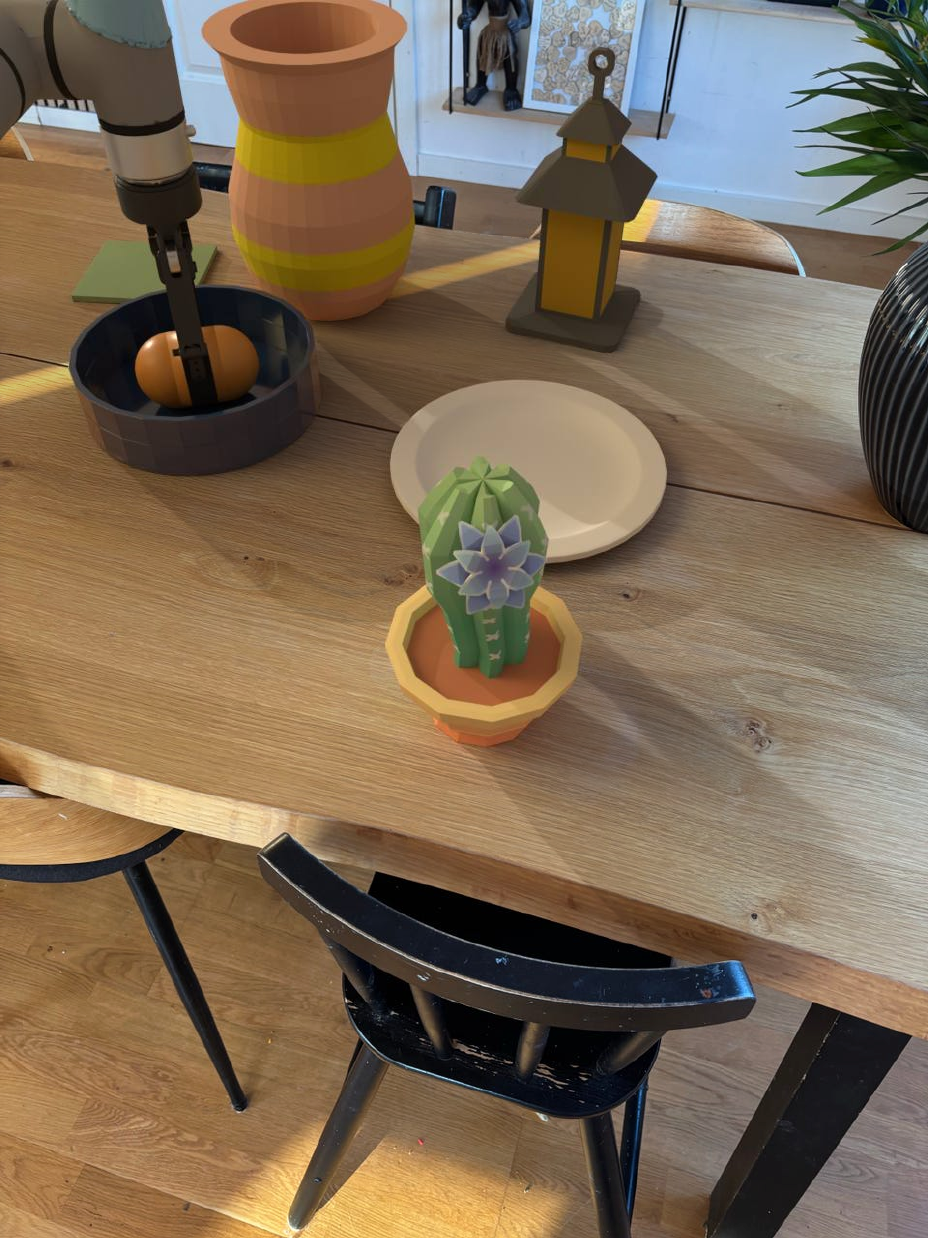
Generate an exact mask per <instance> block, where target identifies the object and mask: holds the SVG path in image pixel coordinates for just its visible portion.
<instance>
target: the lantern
mask: <svg viewBox="0 0 928 1238" xmlns="http://www.w3.org/2000/svg"><path fill="white" fill-rule="evenodd" d="M598 56H603V58H604V57H605V59H606V62H607V66H606V67H600V66H599V65H598V63H597V60H596V59H597V57H598ZM616 56H617V55H616V53H615V52H614V51H613V50H612V49H611V48H610V47H607V46H606V47H605V46H598V47H595V48H594V49H593V50H592V51H591V52H590V53H589V54H588V59H587V60H588V61H587V71H588V73H589V74H590V75H591V76H593V85H592V94H591V96H589V97H588V98H587V99H586V100H585V101H583V102H582V103H581V104H580V105H579V106H578V107H577V108H576V109H574V110H573V111H572V112H571V113H570V114H569V115H568V116H567V118H566V119H565V121H564V122H563V123H562V125H561V126H560V128H559V129H558V130H557V131H556V133H555V136H556V137H558V138H562V145H561V146H559V147H557V148H556V149H554V150H553V151H552V152H550V153H549V154H546V156H544V157H543V159H542V160H541V162H540V163H539V165H538V166H537V167H536V168H535V170H533V172H532V174H531V175H530V177H529V178H528V179H527V180H526V182H525V183H524V185H523V186H522V187H521V188H520V190H519V191H518V193H517V194H516V195H515V197H514V198H515V201H516V203H519V204H520V205H524V206H528V207H535V208H539V209H540V208H541V209H542V211H541V224H540V236H539V250H538V261H537V271H536V272H534V273H533V275H532V277H531V278H530V280H529V281H528V283H527V284H526V286H525V288H524V289H523V290H522V292H521V294H520V295H519V297H518V299H517V300H516V302H515V303H514V305H513V307H512V308H511V310H510V311H509V313H508V314H507V316H506V318H505V328H506V331H508V332H510V333H512V334H517V335H521V336H524V337H525V336H526V337H530V338H535V339H540V340H543V341H549V342H553V343H556V344H562V345H566V346H570V347H571V346H572V347H576V348H580V349H584V350H588V351H589V350H590V351H593V352H599V353H605V354H606V353H607V354H609V353H613V352H615V351H617V350H618V348H619V346H620V344H621V343H622V340H623V339H624V335H625V333H626V331H627V329H628V327H629V325H630V323H631V321H632V319H633V317H634V316H635V315H634V314H635V313H636V311H637V308H638V306H639V305H640V303H641V297H642V294H641V292H640V290H639V289H637V288H635V287H631V286H628V285H627V286H626V285H623V284H617V278H618V271H619V264H620V257H621V250H622V244H623V236H624V228H625V223H626V224H628V223H631V222H633V221H635V220H636V218H637V216H638V214H639V212H640V211H641V209H642V207H643V206H644V204H645V202H646V200H647V198H648V195H649V194H650V192H651V191H652V188H653V187H654V185H655V183H656V181H657V179H658V178H659V176H658V174H657V172H656V171H654V170H653V169H652V168H651V167H650V166H649V165H648V164H647V163H645V162H644V161H642V160H641V159H640V158H639V156H637V155H636V154H634V153H633V152H632V151H631V150H630V149H628V147H626V146H625V145H624V144H623V139H624V137H625V135H626V134H627V133H628V131H629V129H630V128H631V126H632V125H633V123H632V121H631V120H630V119H629V118H628V117H627V116H626V115H625V114H624V113H623V112H622V111H621V110H620V109H619V108H618V107H617V106H616V104H615V103H613V101H611V99H609V98H606V97H604V93H605V85H606V78H607V77H610V76H611V74H612V73H613V71H614V69H615V65H616Z"/></svg>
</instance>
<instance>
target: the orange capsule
mask: <svg viewBox="0 0 928 1238" xmlns="http://www.w3.org/2000/svg"><path fill="white" fill-rule="evenodd" d="M201 328H202V332H203V337H204V342H205V343H206V344H207V348H208V353H209V358H210V362H211V367H212V372H213V376H214V381H215V386H216V390H217V395H218V400H219V403H220V402H226V401H231V400H235V399H238V398H240V397H242V396H243V395H245V394H246V393H247V392H248V391H249V390H250V389H251V388H252V387H253V385H254V383H255V381H256V379H257V376H258V373H259V359H258V355H257V351H256V349H255V347H254V345H253V344H252V342H251V341H250V340H249V339H248V338H247V337H246V336H245V335H244V334H243V333H242V332H240V331H238V330H237V329H234V328H232V327H229V326H223V325H213V326H206V327H201ZM178 347H179V345H178V340H177V336H176V331H170V332H165V333H160V334H158V335H155V336H153V337H152V338H150V339H149V340H148V341H146V342H145V344H144V345H143V346H142V347H141V349H140V351H139V353H138V355H137V358H136V364H135V371H136V377H137V380H138V383H139V385H140V387H141V389H142V390H143V392H144V393H145V394H146V395H147V396H148V397H149V398H150V399H151V400H153V401H154V402H156V403H157V404H159V405H162V406H164V407H167V408H174V409H177V408H187V407H193V406H192V402H191V398H190V394H189V390H188V386H187V381H186V377H185V373H184V369H183V365H182V361H181V357H180V356H175V357H174V356H173V352H172V349H178Z"/></svg>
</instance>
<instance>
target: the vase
mask: <svg viewBox="0 0 928 1238" xmlns="http://www.w3.org/2000/svg"><path fill="white" fill-rule="evenodd" d="M200 31H201V37H202V39H203V40H204V42H206V44H207V45H208V46H209V47H211V49H212V50H214V51H215V53H217V54H218V56H219V60H220V64H221V68H222V72H223V76H224V80H225V83H226V85H227V88H228V90H229V93H230V94H229V95H230V96H231V99H232V102H233V104H234V107H235V110H236V112H237V114H238V117H239V119H238V126H237V133H236V141H235V148H234V157H233V162H232V167H231V172H230V173H231V174H230V177H229V183H228V197H229V198H228V199H229V206H230V207H229V208H230V218H231V229H232V234H233V238H234V241H235V243H236V245H237V248H238V250H239V252H240V255H241V257H242V259H243V261H244V264H245V266H246V268H247V270H248V272H249V275H250V276H251V278H252V280H253V281H254V283H256V285H257V287H259V288H260V289H261V291H264V292H267V293H269V294H271V295H274V296H276V297H279V298H281V299H284V300H286V301H287V302H288V303H290V304H291V305H292V306H294V307H295V308H297V309H298V310H299V311H301V312H302V313H303V315H304V316H305V318H306V319H307V321H308V320H309V321H318V322H335V321H344V320H349V319H354V318H359V317H361V316H363V315H366V314H369V313H370V312H372V311H374V310H375V309H378V308H379V307H380V306H381V305H382V304H383V303H385V302H386V300H387V299H388V298H389V296H390V294H391V293H392V292H393V289H394V288H395V287H396V285H397V284H398V282H399V280H400V279H401V277H402V275H403V274H404V272H405V269H406V267H407V264H408V260H409V256H410V250H411V246H412V242H413V237H414V234H415V233H414V232H415V230H416V229H415V228H416V219H415V217H416V216H415V208H414V207H415V206H414V198H413V197H414V195H413V187H412V178H411V175H410V173H409V170H408V167H407V165H406V163H405V160H404V157H403V154H402V152H401V150H400V146H399V144H398V140H397V137H396V135H395V132H394V128H393V125H392V122H391V119H390V116H389V113H388V107H389V102H390V97H391V89H392V83H393V78H394V69H395V68H394V67H395V53H396V52H395V51H396V46H397V45H398V44H399V43H400V42H401V40H402V39H404V36H405V35H406V33H407V32H408V22H407V21H406V19H405V16H403V14H401V13H400V12H399V11H397V10H396V9H394V8H393V7H391V6H389V5H387V4H384V3H381V2H378V1H375V0H244V1H241V2H237V3H234V4H232V5H228V6H226V7H225V8H222V9H219V10H218V11H216V12H214V13H213V14H211V15H210V16H209V17H208V18H207V19H206V20H205V21H204V22H203V25H202V27H201V29H200Z"/></svg>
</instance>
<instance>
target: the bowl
mask: <svg viewBox="0 0 928 1238" xmlns="http://www.w3.org/2000/svg"><path fill="white" fill-rule="evenodd" d="M195 288H196V293H197V297H198V302H199V307H200V311H201V316H202V321H203V325H204V327H206V326H213V325H223V326H229V327H232V328H234V329H237V330H238V331H240V332H242V333H243V334H244V335H245V336H246V337H247V338H248V339H249V340H250V341H251V342H252V344H253V345H254V347H255V349H256V351H257V355H258V359H259V373H258V376H257V379H256V381H255V383H254V385H253V387H252V388H251V389H250V390H249V391H248V392H247V393H246V394H245V395H243V396H242V397H240V398H238V399H235V400H231V401H226V402H220V403H216V404H210V405H203V406H197V407H187V408H177V409H174V408H167V407H164V406H162V405H159V404H157V403H156V402H154V401H153V400H151V399H150V398H149V397H148V396H147V395H146V394H145V393H144V392H143V390H142V389H141V387H140V385H139V383H138V380H137V377H136V371H135V364H136V358H137V355H138V353H139V351H140V349H141V347H142V346H143V345H144V344H145V342H146V341H148V340H149V339H150V338H152V337H153V336H155V335H158V334H160V333H165V332H170V331H175V327H174V322H173V318H172V313H171V309H170V304H169V300H168V295H167V291H166V289H164V290H159V291H155V292H150V293H147V294H144V295H142V296H139V297H136V298H134V299H131V300H129V301H126V302H123V303H118V305H115V306H113V307H112V308H111V309H109V310H107V311H105V312H103V313H102V314H100V315H99V316H97V317H96V318H95V319H94V320H93V321H92V322H91V323H89V325H88V326H86V327H85V328H84V329H82V331H81V332H80V334H79V335H78V337H77V339H76V340H75V342H74V343H73V345H72V347H71V348H70V352H69V358H68V359H69V362H68V367H67V368H68V372H69V374H70V377H71V380H72V382H73V383H72V384H73V386H74V389H75V392H76V395H77V398H78V402H79V404H80V407H81V410H82V413H83V416H84V419H85V421H86V424H87V427H88V431H89V432H90V435H91V437H92V438H93V440H94V442H96V444H97V445H98V446H99V448H101V450H102V451H104V452H105V453H106V454H108V455H109V456H110V457H112V458H113V459H114V460H116V461H118V462H119V463H122V464H124V465H127V466H129V467H131V468H134V469H137V470H139V471H143V472H148V473H153V474H158V475H166V476H167V475H168V476H174V477H175V476H176V477H177V476H178V477H179V476H181V477H193V476H196V477H197V476H207V475H214V474H222V473H227V472H231V471H235V470H239V469H243V468H246V467H249V466H251V465H255V464H257V463H259V462H263V461H264V460H266V459H269V458H271V457H274V455H276V454H278V453H280V452H282V451H283V450H285V449H286V448H288V447H289V446H290V445H292V444H293V443H294V442H296V441H297V440H298V439H299V438H300V437H302V436H303V435H304V433H305V432H306V431H307V430H308V428H309V427H310V426H311V425H312V423H313V421H314V420H315V418H316V416H317V413H318V411H319V408H320V404H321V396H322V392H321V391H322V390H321V383H320V375H319V374H320V373H319V364H318V356H317V348H316V340H315V335H314V330H313V326H312V324H311V323H310V322H309V321H308V319H306V318H305V316H304V315H303V313H302V312H301V311H299V310H298V309H297V308H295V307H294V306H292V305H291V304H290V303H288V302H287V301H286V300H284V299H281V298H279V297H276V296H274V295H271V294H269V293H267V292H264V291H263V290H262V289H261V290H260V289H256V288H251V287H246V286H240V285H235V284H234V285H233V284H217V283H216V284H215V283H204V284H203V283H202V285H195Z"/></svg>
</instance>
